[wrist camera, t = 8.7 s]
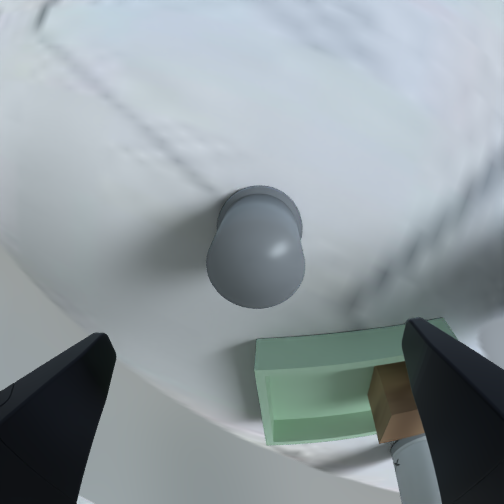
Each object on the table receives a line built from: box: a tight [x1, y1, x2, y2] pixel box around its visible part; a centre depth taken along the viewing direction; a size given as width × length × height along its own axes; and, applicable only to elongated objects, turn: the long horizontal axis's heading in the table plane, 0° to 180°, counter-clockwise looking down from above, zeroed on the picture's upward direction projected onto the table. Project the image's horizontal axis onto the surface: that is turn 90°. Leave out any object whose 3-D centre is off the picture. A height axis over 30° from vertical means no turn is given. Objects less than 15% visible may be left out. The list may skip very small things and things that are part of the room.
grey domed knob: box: [206, 186, 305, 309], centre depth 14 cm, size 5×5×5 cm
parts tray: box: [254, 318, 458, 445], centre depth 20 cm, size 14×10×3 cm
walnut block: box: [367, 361, 425, 444], centre depth 18 cm, size 4×4×5 cm
